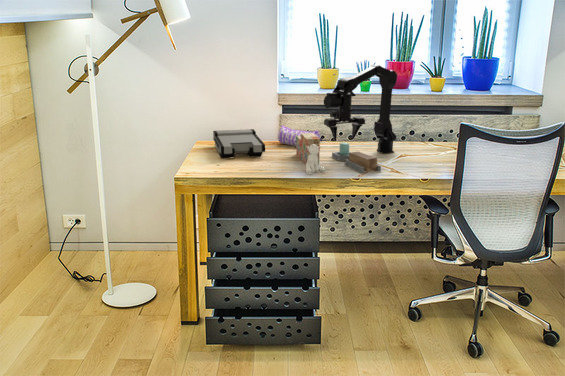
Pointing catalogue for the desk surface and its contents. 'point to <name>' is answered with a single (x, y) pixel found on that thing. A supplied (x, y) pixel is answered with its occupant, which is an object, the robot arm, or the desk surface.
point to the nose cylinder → (344, 149)
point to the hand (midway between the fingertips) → (344, 139)
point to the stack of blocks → (304, 141)
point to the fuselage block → (364, 161)
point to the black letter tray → (238, 143)
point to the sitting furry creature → (314, 161)
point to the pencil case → (292, 135)
